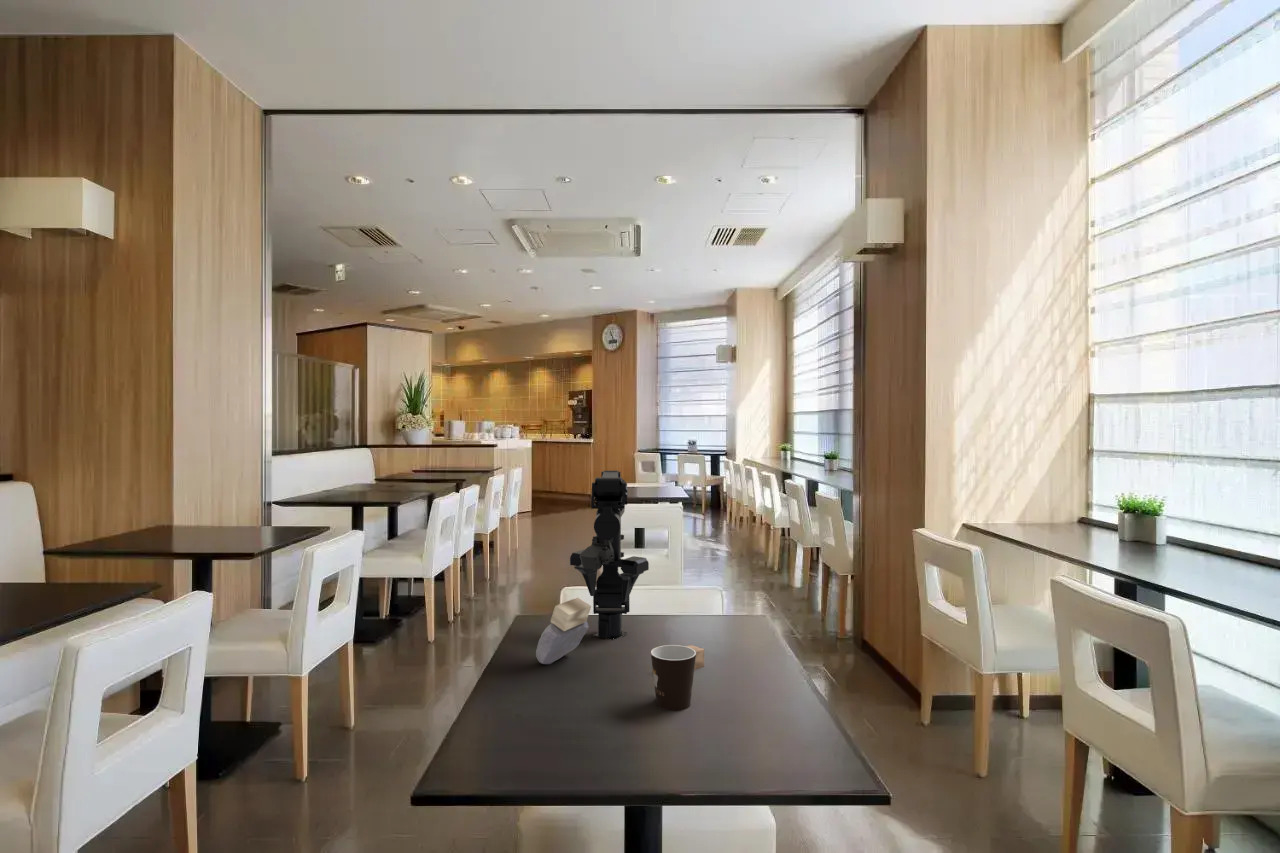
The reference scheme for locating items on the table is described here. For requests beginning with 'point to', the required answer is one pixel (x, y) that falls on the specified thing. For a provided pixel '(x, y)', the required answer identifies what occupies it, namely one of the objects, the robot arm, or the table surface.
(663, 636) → the table surface
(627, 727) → the table surface
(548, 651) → the stone block
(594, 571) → the robot arm
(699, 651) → the brick
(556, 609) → the ash brick
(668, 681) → the coffee mug
